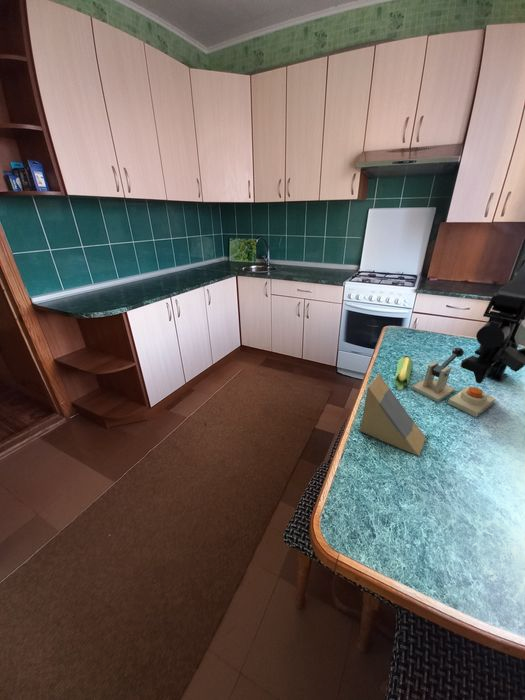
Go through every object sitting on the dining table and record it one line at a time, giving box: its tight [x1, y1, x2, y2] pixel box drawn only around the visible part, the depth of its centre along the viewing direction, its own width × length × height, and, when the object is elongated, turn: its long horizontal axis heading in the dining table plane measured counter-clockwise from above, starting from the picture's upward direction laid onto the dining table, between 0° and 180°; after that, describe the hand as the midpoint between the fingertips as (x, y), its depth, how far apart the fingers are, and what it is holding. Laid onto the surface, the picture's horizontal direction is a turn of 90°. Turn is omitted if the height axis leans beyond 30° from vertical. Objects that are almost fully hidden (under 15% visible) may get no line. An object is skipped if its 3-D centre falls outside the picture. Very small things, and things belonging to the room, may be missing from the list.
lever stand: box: [411, 361, 456, 403], centre depth 95 cm, size 10×9×9 cm
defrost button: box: [467, 386, 484, 398], centre depth 89 cm, size 4×4×2 cm
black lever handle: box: [432, 347, 464, 378], centre depth 96 cm, size 14×3×3 cm, turn 123°
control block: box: [447, 386, 497, 418], centre depth 90 cm, size 12×8×4 cm, turn 123°
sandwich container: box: [359, 373, 426, 457], centre depth 76 cm, size 9×15×15 cm, turn 52°
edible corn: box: [394, 355, 414, 391], centre depth 104 cm, size 5×20×5 cm, turn 151°
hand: (478, 382), depth 87 cm, fingers closed
